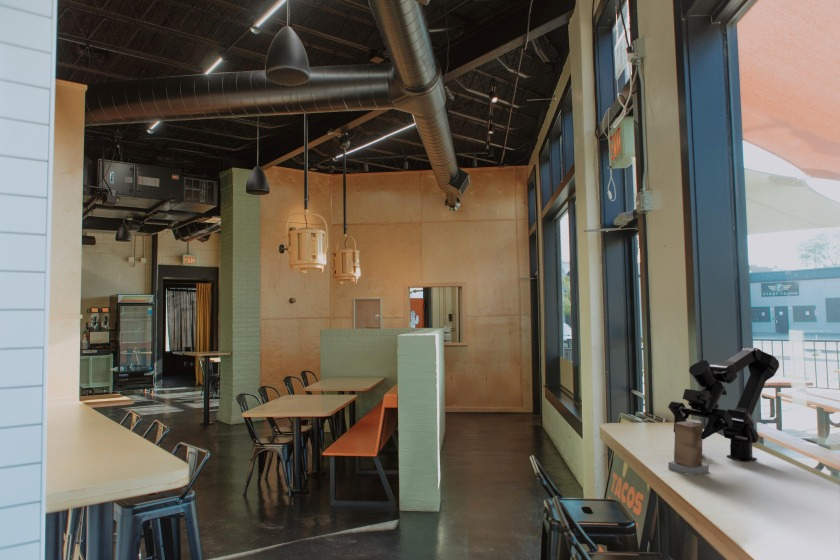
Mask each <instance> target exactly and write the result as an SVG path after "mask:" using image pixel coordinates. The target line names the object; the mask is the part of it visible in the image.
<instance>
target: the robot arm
mask: <svg viewBox="0 0 840 560" xmlns="http://www.w3.org/2000/svg"><path fill="white" fill-rule="evenodd" d="M746 367H747V369H748V371H749V377H748V379H747V381H746V383H745V386H744V388H743V390H742V393H741V395H740V398H739V400H738V402H737V405H736V407H735V408H733V409H731V408H729V409H723V408H719V407H720V405H719V404H718V402H719V400H721V399H720V398H721V396H727V394H728V393H727V390H726V387H725V386H724V385H723V384H730V385H731V384H732V383H733V382H734V381H735V380H736V379H737V378H738V373H739V372H740V371H742V370H743V369H745V368H746ZM779 368H780V362H779V360H778V359H777V358H776V357H775V356H774V355H772V354H769V353H767V352H765V351H762V350H761V349H759V348H758V347H744V348H742V349H741V350H740V351H739V352H737V353H736V354H734V355H733V356H731V357H730V358H728V359H726V360H725V361H720V362H715V363H712V364H709V362H708V360H707V359H700V360H699V361H698V362H696V363H693V364H692V365H690V367H689V369H688V373H689V374H690V375H691V376H692V378H693V379H694V382H695V383H696V384H697V385H698V386H699V387H701V389H700V390H696V389H691V388H684V391H683V395H682V400H685V401H687V404H688V406H690V407H686V406H685V403H683V402H679V401H670V402H669V404H668V406H667V408H668V409H669V411H670V412H671V413H672V414H673V416H674V418H673V419H674V424H673V433H674V434H675V423H677V422H684V421H687V420H686V419H689V417H690V416H693V417H699V418H704V419H708V422H707V423H706V425H705V427H704V428H703V433H702V435H701V438H702V440H706V439H708V438H709V437H710V436H712V435H714V434H715V433H717V432H720V431H722V432H723V436H724V438H725V439H730V441H729V443H730V444H729V450H730V451H729V453H730V454H728V455H726V458H730V459H734V460H737V461H741V462H749V461H750V460H751V461H757V460H758V458H757V457H755V456H754V457H753V443H755V444H756V443H758V441H759V436H760V435H759V433H758V432H757V430H756V429H755V423H754V420H753V413H754V412H755V408H756V407H757V403H758V402H759V398H760V397H761V393H762V391H763V389H764V387H765V384H766V382H767V381H768V380H770V379H772V378H773V377H774V376H775V375H776V373H777V372H778V370H779ZM751 461H750V462H751Z"/></svg>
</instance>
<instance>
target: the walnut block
mask: <svg viewBox="0 0 840 560" xmlns="http://www.w3.org/2000/svg"><path fill="white" fill-rule="evenodd" d="M703 431H704V425H700V424H696V423H692V422H688V421H684V422H677V423H675V433H674V448H673V449H674V451H673V453H674V454H673V461H674V462H677V463H680V464H683V465H686V466H689V467H693V466H697V465H702V464H703V439H702V438H701V435H702V433H703Z"/></svg>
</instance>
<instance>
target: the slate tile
mask: <svg viewBox="0 0 840 560" xmlns="http://www.w3.org/2000/svg"><path fill="white" fill-rule="evenodd" d="M667 462H668V466H667V467H668V470H672V471H674V470H675V472H678V471H680V472H679V473H681V472H683V473H682V474H685V473H688V474H691V475H690V476H692V475H693V476H696V475H695V474H698V475H701V474H700V473H702V474H707V473H709V469H710V468H709V465H708V464H705V463H702V465H697V466H693V467H689V466H686V465H683V464H680V463H677V462H674V460H673V461H667ZM688 474H687V475H688Z"/></svg>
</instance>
